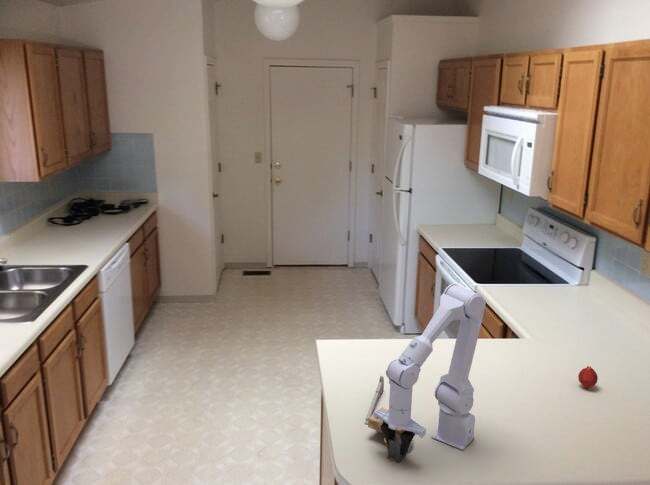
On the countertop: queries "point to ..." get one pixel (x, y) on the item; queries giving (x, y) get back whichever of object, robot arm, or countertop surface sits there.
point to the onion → (588, 377)
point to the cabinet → (379, 423)
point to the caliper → (376, 397)
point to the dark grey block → (396, 448)
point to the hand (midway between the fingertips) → (397, 450)
